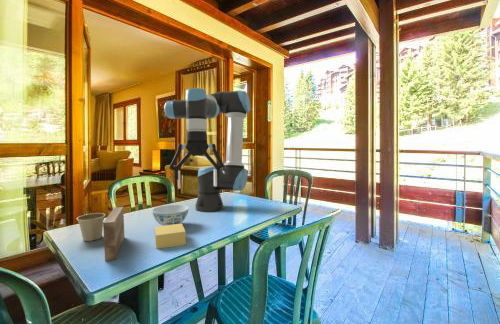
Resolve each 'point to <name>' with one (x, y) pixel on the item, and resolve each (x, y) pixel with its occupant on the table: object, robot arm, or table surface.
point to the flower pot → (91, 226)
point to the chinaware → (170, 214)
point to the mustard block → (170, 235)
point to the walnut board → (113, 233)
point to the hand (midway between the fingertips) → (197, 187)
